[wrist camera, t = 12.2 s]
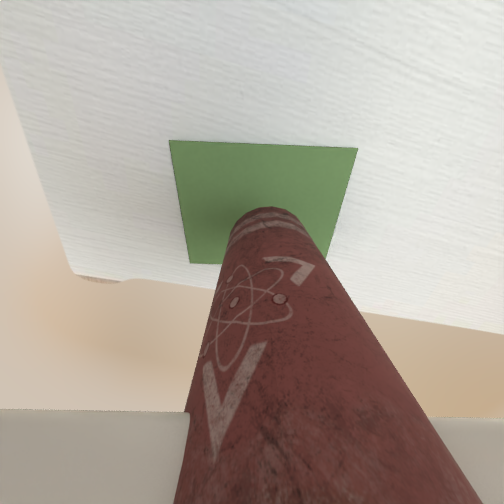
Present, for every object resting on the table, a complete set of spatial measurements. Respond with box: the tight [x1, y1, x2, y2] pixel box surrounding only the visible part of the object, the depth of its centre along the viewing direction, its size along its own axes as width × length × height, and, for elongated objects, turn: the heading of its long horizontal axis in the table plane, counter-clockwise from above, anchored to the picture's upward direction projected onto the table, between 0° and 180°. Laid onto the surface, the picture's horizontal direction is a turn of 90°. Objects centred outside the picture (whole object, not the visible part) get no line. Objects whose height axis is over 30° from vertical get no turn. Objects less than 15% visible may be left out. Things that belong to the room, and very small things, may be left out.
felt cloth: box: [169, 140, 358, 264], centre depth 21 cm, size 18×14×1 cm
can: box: [173, 206, 483, 504], centre depth 9 cm, size 6×6×14 cm
